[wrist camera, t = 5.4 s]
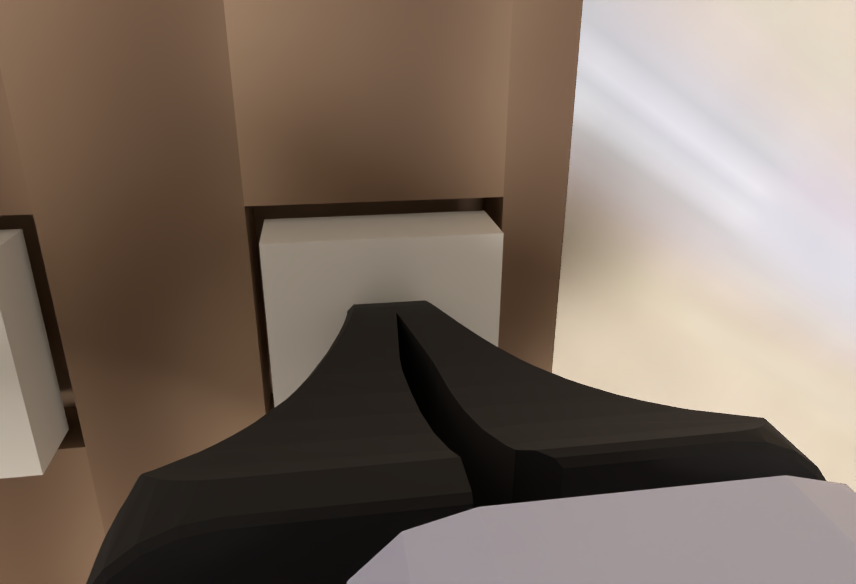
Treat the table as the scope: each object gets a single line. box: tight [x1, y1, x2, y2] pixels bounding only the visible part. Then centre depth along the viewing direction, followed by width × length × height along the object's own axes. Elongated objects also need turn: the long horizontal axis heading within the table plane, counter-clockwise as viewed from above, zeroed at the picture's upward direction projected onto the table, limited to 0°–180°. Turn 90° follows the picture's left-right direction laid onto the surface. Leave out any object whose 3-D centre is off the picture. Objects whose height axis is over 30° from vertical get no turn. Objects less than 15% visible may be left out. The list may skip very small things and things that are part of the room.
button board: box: [0, 0, 583, 584], centre depth 12 cm, size 15×24×4 cm, turn 0°
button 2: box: [259, 210, 504, 407], centre depth 13 cm, size 4×4×1 cm
